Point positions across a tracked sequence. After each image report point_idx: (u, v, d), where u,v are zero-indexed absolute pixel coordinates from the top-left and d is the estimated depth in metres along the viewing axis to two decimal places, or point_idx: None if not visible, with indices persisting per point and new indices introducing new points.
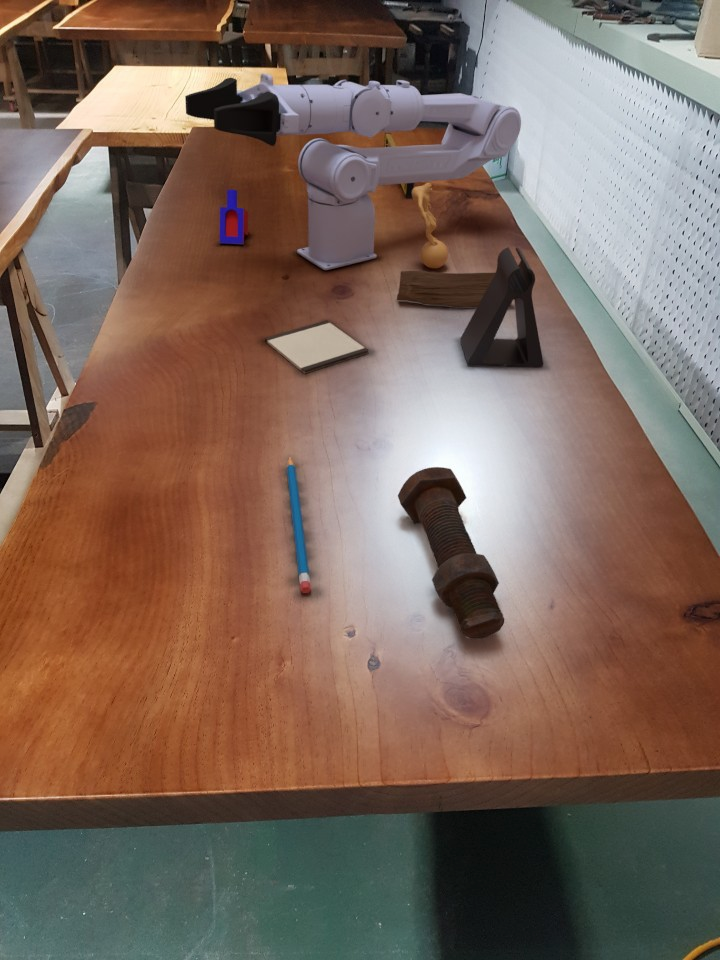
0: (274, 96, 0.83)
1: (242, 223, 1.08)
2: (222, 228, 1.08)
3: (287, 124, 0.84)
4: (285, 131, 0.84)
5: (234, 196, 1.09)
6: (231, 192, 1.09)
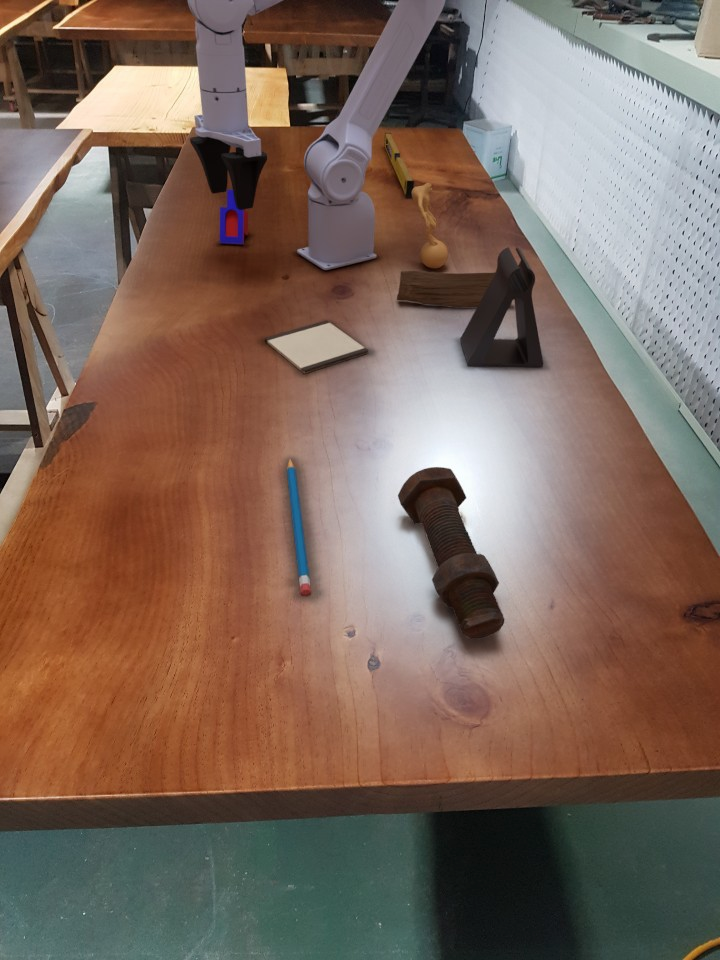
0: (229, 161, 0.88)
1: (242, 223, 1.08)
2: (222, 228, 1.08)
3: (254, 153, 0.88)
4: (260, 154, 0.88)
5: None
6: (231, 192, 1.09)
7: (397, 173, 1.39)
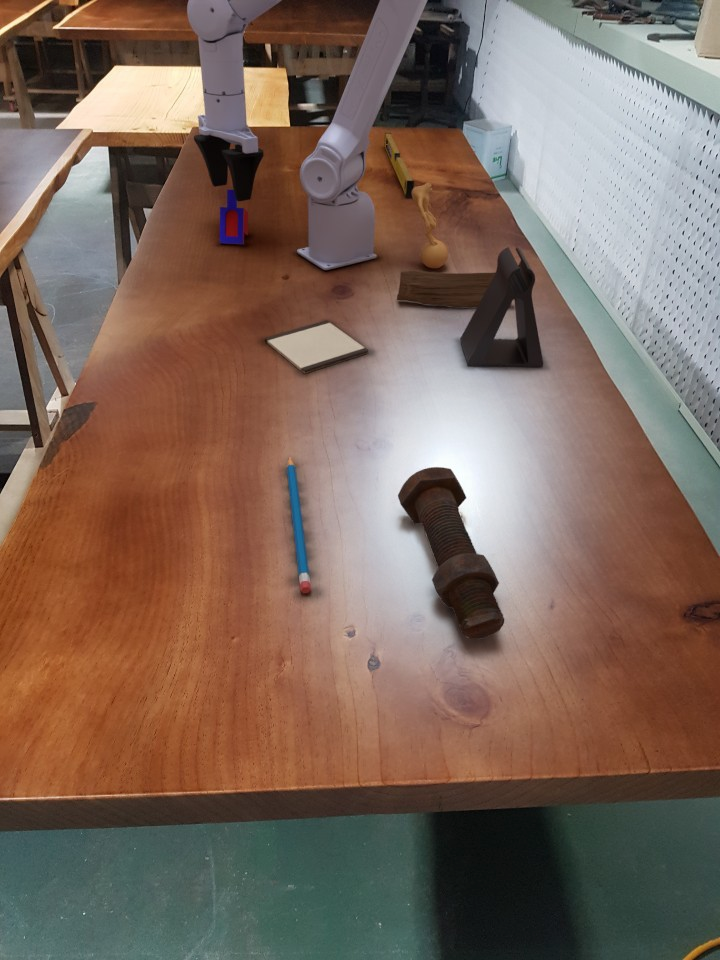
0: (229, 156, 0.98)
1: (242, 223, 1.08)
2: (222, 228, 1.08)
3: (252, 150, 0.98)
4: (257, 151, 0.98)
5: (234, 196, 1.09)
6: (231, 192, 1.09)
7: (397, 173, 1.39)
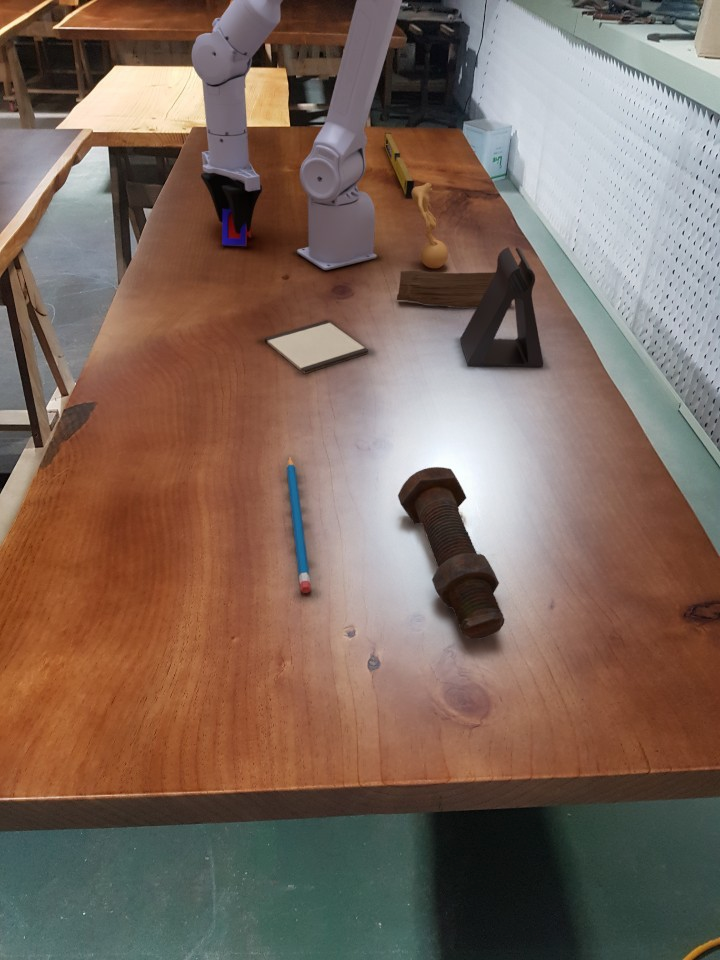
0: (229, 192, 1.02)
1: (245, 225, 1.07)
2: (225, 230, 1.08)
3: (254, 188, 1.01)
4: (259, 188, 1.01)
5: None
6: None
7: (397, 173, 1.39)
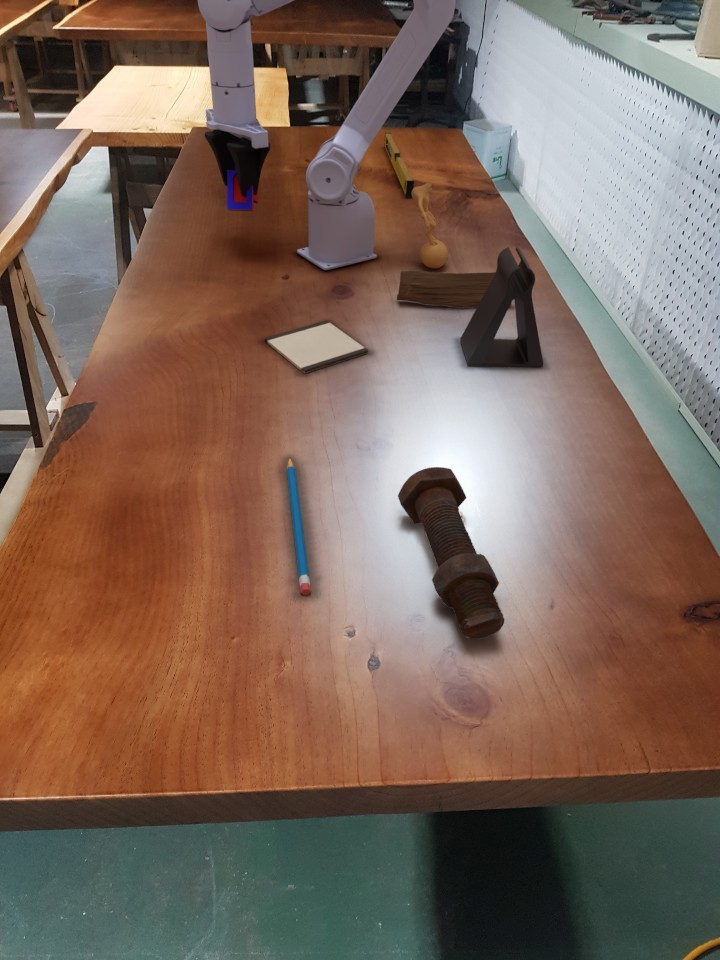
0: (234, 150, 0.94)
1: (251, 187, 1.00)
2: (230, 193, 1.00)
3: (262, 144, 0.93)
4: (267, 146, 0.94)
5: None
6: None
7: (397, 173, 1.39)
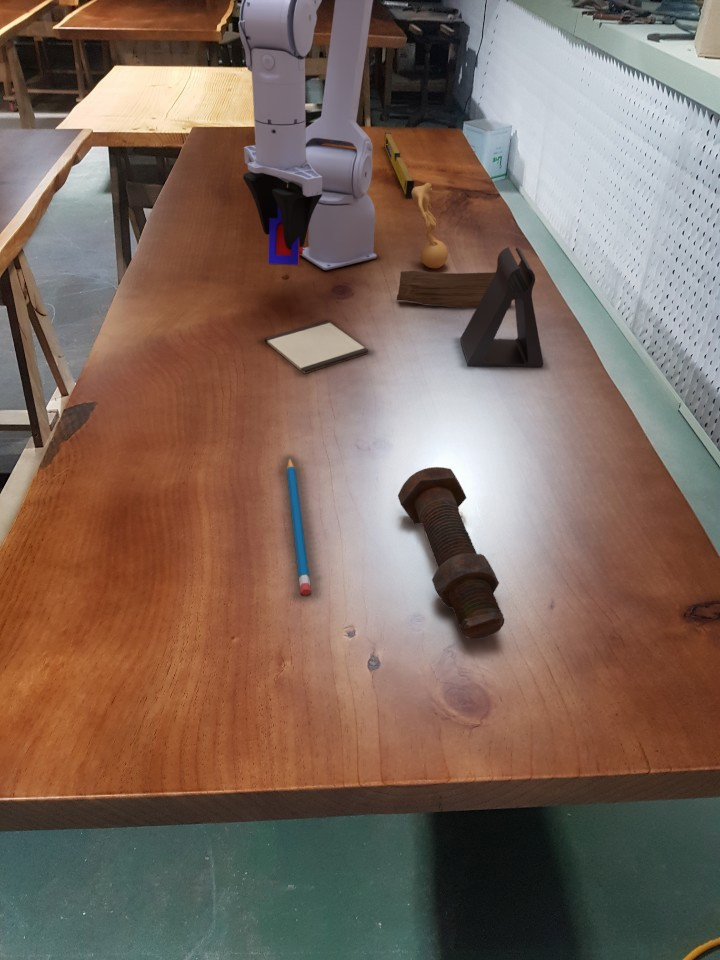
0: (282, 197, 0.80)
1: (297, 238, 0.85)
2: (272, 245, 0.85)
3: (315, 192, 0.79)
4: (320, 193, 0.79)
5: None
6: None
7: (397, 173, 1.39)
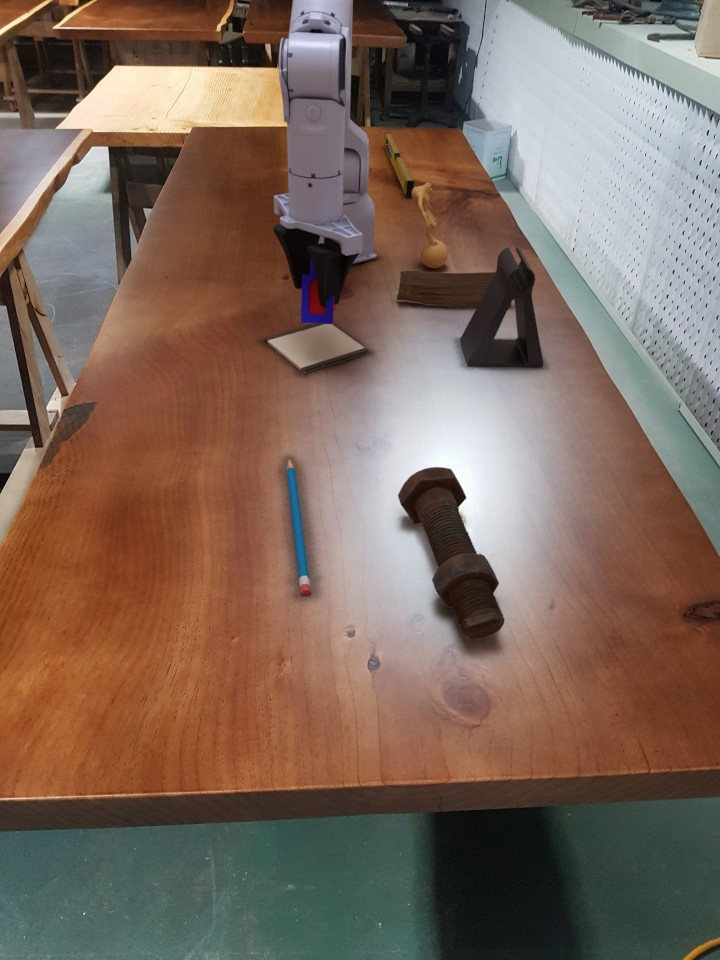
0: (318, 256, 0.73)
1: (332, 296, 0.79)
2: (305, 303, 0.79)
3: (354, 250, 0.72)
4: (360, 251, 0.73)
5: None
6: None
7: (397, 173, 1.39)
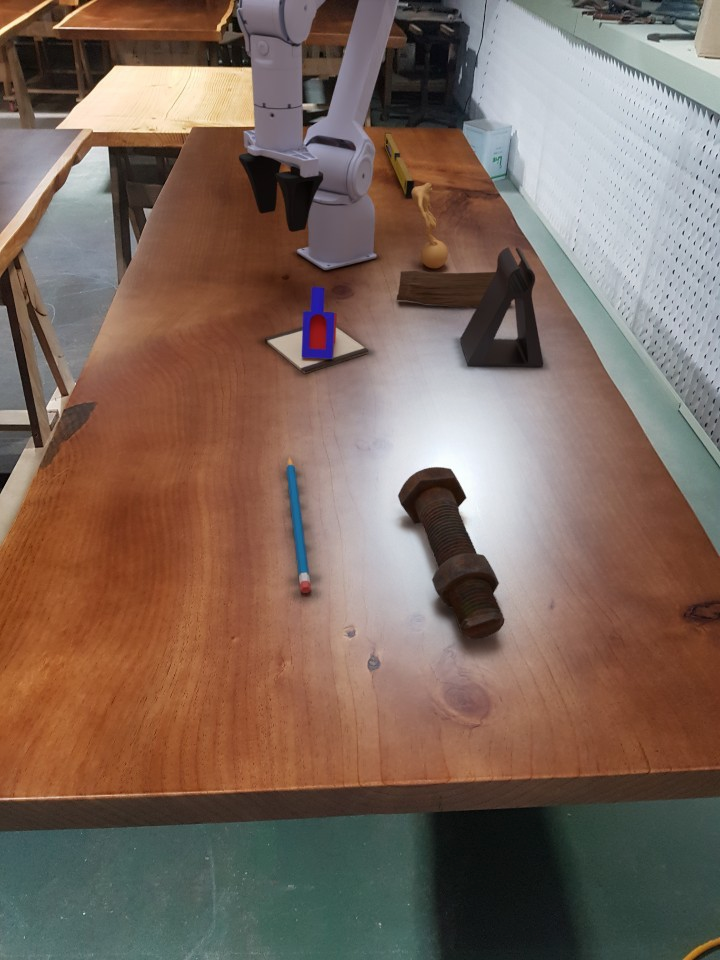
0: (285, 181, 0.83)
1: (332, 332, 0.81)
2: (305, 338, 0.81)
3: (311, 173, 0.82)
4: (317, 174, 0.83)
5: (321, 295, 0.82)
6: (317, 290, 0.82)
7: (397, 173, 1.39)
